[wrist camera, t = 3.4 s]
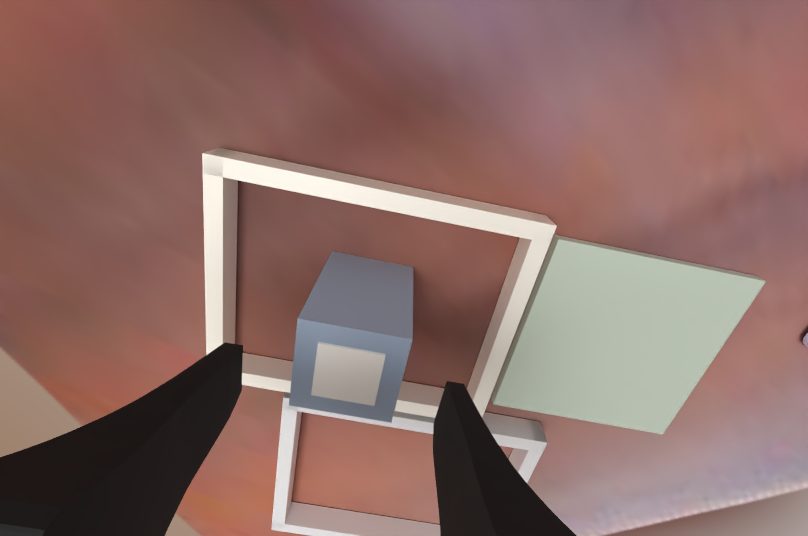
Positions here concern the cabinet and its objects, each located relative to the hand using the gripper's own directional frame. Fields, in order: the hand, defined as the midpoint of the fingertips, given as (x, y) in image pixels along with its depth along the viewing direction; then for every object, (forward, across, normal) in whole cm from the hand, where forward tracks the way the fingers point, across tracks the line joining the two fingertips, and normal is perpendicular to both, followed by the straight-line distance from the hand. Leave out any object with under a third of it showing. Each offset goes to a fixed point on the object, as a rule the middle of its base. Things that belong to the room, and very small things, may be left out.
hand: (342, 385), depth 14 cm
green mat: (+6, -13, 0) cm, 15 cm away
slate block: (+7, 0, 0) cm, 7 cm away
